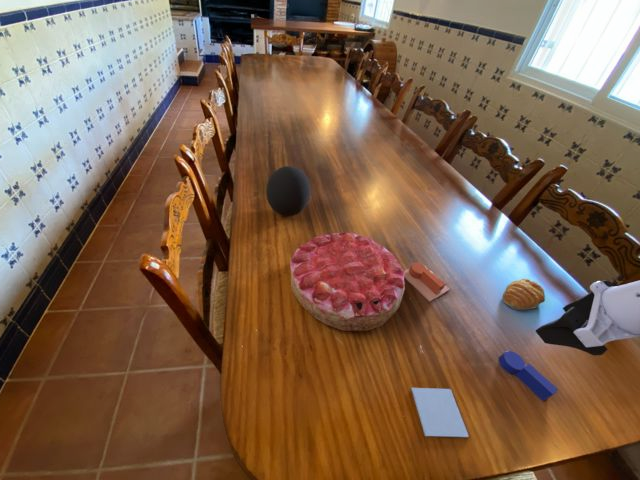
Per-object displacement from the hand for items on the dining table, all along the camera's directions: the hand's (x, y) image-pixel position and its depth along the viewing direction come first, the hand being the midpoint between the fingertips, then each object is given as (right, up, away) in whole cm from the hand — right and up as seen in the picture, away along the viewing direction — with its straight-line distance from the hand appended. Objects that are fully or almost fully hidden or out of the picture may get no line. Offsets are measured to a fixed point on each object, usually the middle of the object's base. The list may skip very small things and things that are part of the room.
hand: (555, 324), depth 45 cm
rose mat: (-8, +1, +26) cm, 27 cm away
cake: (-28, 0, +23) cm, 36 cm away
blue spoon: (+3, -13, +10) cm, 17 cm away
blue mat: (-16, -16, +4) cm, 23 cm away
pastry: (+13, -3, +24) cm, 27 cm away
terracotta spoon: (-8, +1, +25) cm, 27 cm away
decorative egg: (-41, +17, +43) cm, 62 cm away
